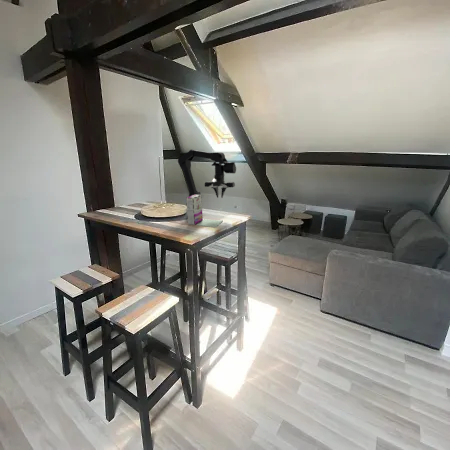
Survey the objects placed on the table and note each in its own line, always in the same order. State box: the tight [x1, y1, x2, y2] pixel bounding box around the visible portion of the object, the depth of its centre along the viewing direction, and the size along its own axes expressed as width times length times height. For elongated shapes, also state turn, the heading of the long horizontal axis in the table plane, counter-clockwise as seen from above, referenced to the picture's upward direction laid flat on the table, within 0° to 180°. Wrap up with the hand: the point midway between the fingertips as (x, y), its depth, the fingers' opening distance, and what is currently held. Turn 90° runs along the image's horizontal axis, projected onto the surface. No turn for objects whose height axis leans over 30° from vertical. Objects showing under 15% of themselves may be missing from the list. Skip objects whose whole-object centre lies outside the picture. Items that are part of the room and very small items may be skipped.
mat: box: [196, 218, 223, 228], centre depth 146 cm, size 12×13×1 cm
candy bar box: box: [185, 194, 204, 226], centre depth 146 cm, size 11×5×16 cm, turn 160°
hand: (219, 197), depth 156 cm, fingers open, 3 cm apart
